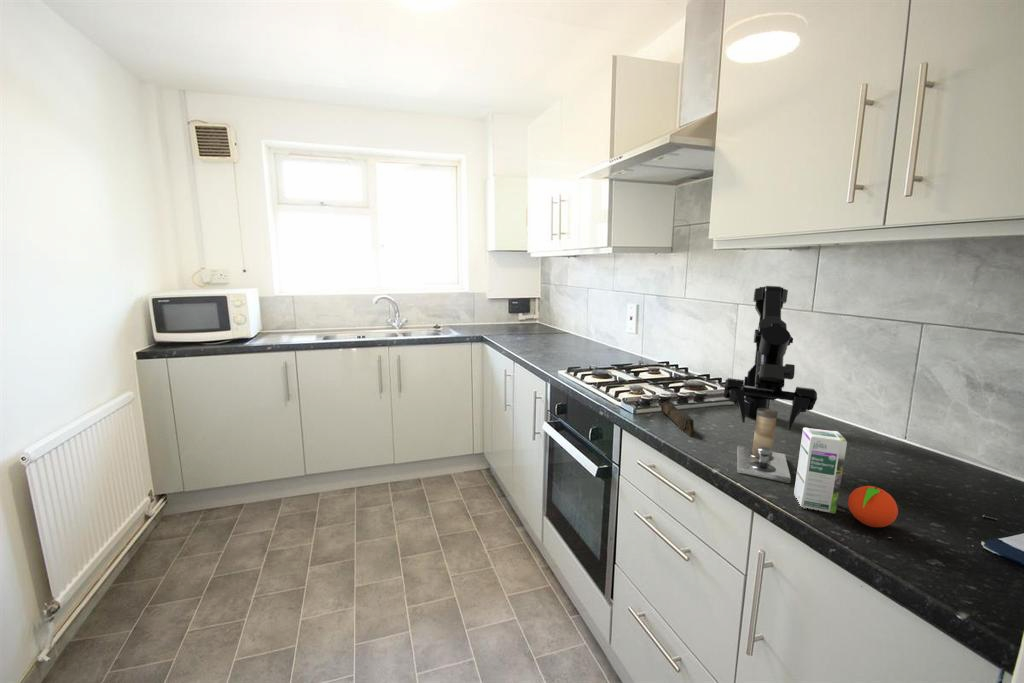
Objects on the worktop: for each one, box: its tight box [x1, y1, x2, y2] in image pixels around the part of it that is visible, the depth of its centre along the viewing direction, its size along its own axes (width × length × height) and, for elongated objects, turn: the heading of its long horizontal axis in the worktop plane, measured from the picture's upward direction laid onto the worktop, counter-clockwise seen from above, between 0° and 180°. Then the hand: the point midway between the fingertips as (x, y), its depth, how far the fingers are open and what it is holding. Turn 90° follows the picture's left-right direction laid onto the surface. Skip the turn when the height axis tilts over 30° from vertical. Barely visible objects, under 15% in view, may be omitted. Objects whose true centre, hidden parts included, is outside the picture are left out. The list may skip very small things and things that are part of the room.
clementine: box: [847, 485, 899, 528], centre depth 79 cm, size 8×7×7 cm
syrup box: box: [793, 427, 848, 515], centre depth 85 cm, size 6×6×14 cm
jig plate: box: [736, 445, 791, 484], centre depth 101 cm, size 14×10×5 cm
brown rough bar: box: [660, 401, 695, 437], centre depth 127 cm, size 19×4×5 cm, turn 178°
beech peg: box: [752, 408, 778, 459], centre depth 103 cm, size 4×4×11 cm
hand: (766, 425), depth 102 cm, fingers open, 9 cm apart
